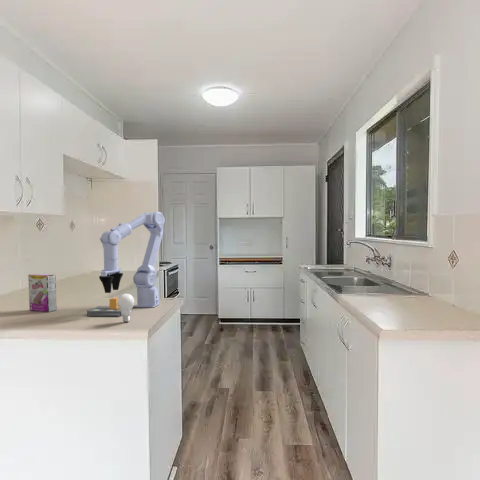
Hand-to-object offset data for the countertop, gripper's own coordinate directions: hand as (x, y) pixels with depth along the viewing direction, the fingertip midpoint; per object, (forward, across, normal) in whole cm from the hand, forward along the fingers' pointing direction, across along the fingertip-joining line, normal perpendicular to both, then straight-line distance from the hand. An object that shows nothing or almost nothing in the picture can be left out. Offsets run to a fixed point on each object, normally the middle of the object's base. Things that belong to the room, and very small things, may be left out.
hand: (111, 291), depth 165 cm
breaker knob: (+7, 0, +1) cm, 7 cm away
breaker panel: (+9, 0, -1) cm, 10 cm away
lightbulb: (+10, +15, +13) cm, 22 cm away
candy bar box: (+10, -4, -34) cm, 36 cm away
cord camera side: (+9, +6, 0) cm, 11 cm away
